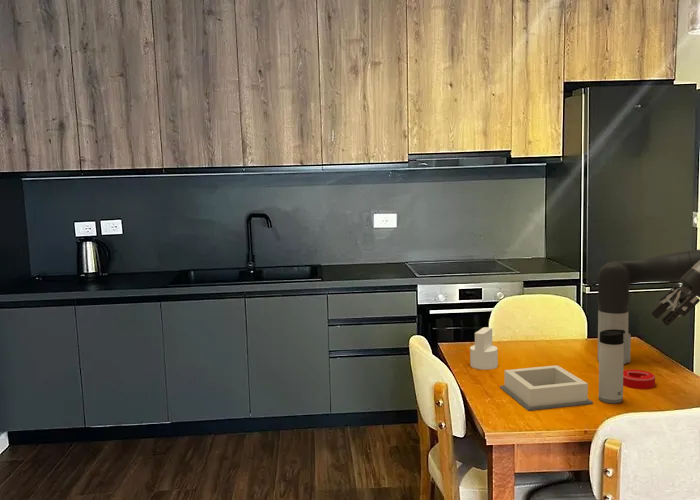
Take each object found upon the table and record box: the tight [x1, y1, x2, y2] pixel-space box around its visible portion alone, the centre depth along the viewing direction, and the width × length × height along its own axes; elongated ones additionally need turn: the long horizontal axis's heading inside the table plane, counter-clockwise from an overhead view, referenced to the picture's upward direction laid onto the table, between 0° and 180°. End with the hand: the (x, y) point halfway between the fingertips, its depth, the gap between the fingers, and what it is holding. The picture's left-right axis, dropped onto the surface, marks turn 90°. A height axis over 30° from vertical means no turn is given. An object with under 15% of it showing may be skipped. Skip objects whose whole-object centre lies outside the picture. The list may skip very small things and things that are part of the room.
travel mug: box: [598, 329, 625, 405], centre depth 174 cm, size 6×7×20 cm
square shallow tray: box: [499, 365, 594, 412], centre depth 180 cm, size 19×19×6 cm
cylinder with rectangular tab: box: [469, 326, 499, 371], centre depth 209 cm, size 9×9×12 cm
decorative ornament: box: [623, 369, 656, 390], centre depth 187 cm, size 10×10×3 cm
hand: (658, 319), depth 170 cm, fingers open, 8 cm apart
